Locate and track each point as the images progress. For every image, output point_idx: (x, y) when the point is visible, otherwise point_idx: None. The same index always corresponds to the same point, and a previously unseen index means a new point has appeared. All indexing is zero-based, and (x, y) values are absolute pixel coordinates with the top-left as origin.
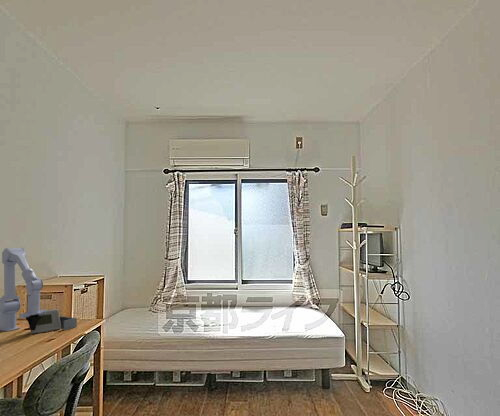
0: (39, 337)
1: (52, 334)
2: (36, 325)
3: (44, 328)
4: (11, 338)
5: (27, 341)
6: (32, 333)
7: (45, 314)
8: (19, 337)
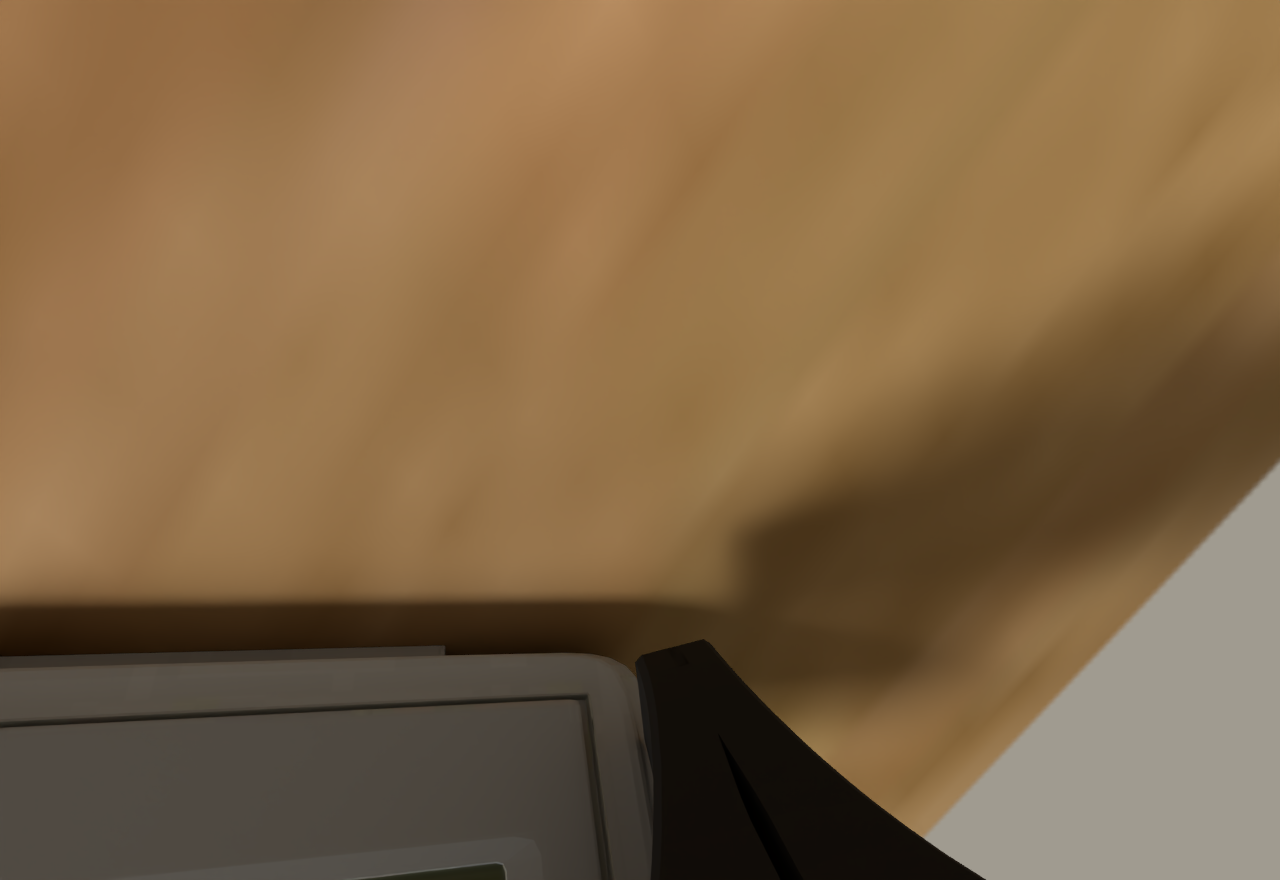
0: (749, 167)
1: (193, 164)
2: (524, 870)
3: (241, 728)
4: (1035, 614)
5: (1221, 24)
6: (611, 660)
7: None
8: (929, 583)
